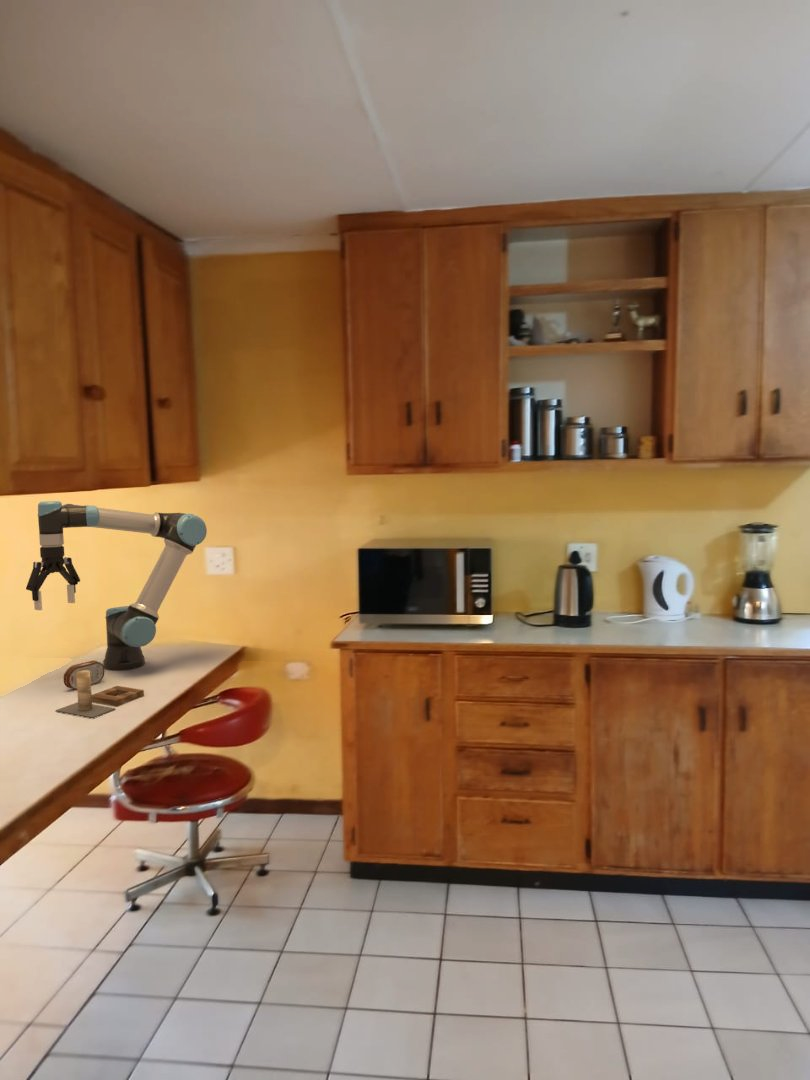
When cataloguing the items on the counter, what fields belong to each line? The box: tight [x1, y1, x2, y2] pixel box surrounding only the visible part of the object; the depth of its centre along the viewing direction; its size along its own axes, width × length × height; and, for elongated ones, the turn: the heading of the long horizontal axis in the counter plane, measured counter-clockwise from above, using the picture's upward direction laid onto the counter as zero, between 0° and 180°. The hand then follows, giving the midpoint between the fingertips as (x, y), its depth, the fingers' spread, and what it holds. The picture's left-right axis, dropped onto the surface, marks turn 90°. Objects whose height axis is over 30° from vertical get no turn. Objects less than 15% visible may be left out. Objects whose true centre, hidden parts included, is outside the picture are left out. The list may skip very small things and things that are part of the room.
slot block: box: [91, 685, 145, 708], centre depth 244 cm, size 12×12×2 cm
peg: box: [76, 670, 93, 711], centre depth 232 cm, size 4×4×12 cm
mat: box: [55, 701, 116, 719], centre depth 232 cm, size 9×16×1 cm, turn 66°
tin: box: [63, 660, 106, 690], centre depth 258 cm, size 15×3×8 cm, turn 149°
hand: (55, 606), depth 255 cm, fingers open, 13 cm apart
